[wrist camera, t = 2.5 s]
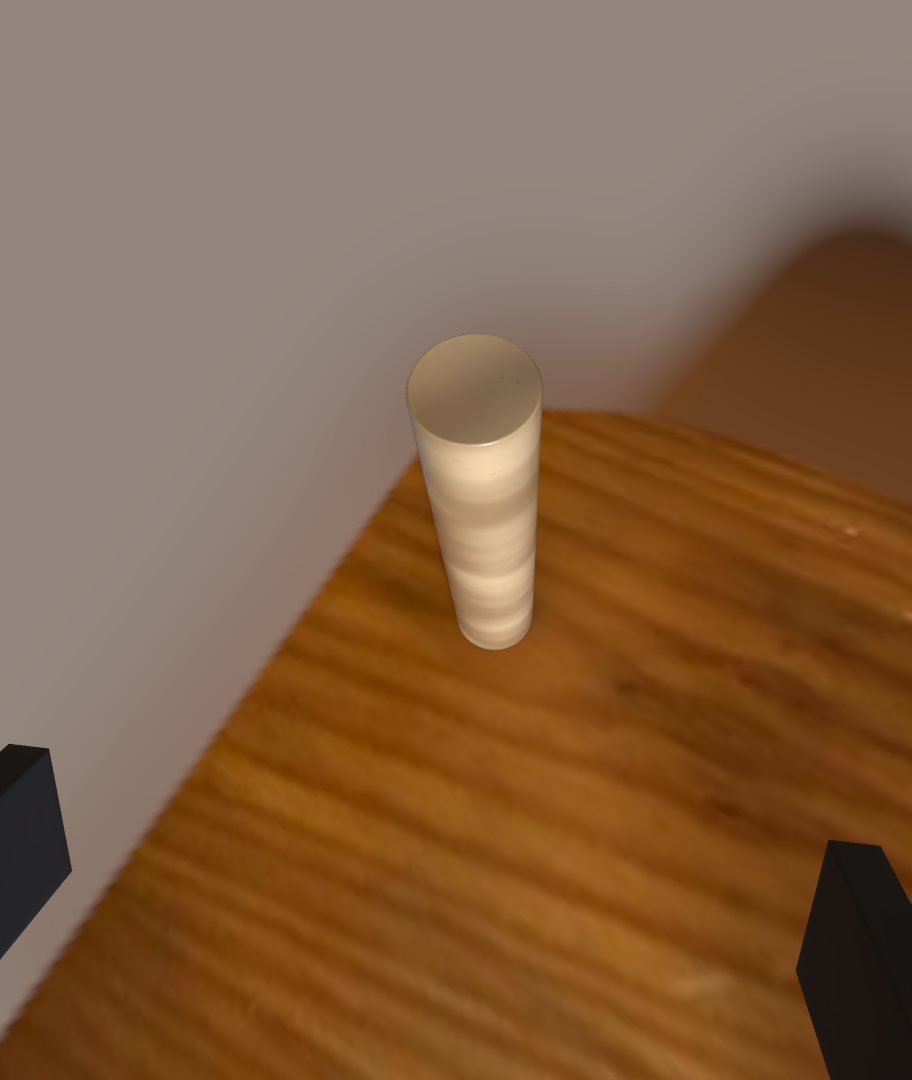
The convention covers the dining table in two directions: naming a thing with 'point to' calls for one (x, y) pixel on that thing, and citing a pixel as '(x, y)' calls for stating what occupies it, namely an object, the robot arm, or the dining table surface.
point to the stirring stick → (482, 477)
